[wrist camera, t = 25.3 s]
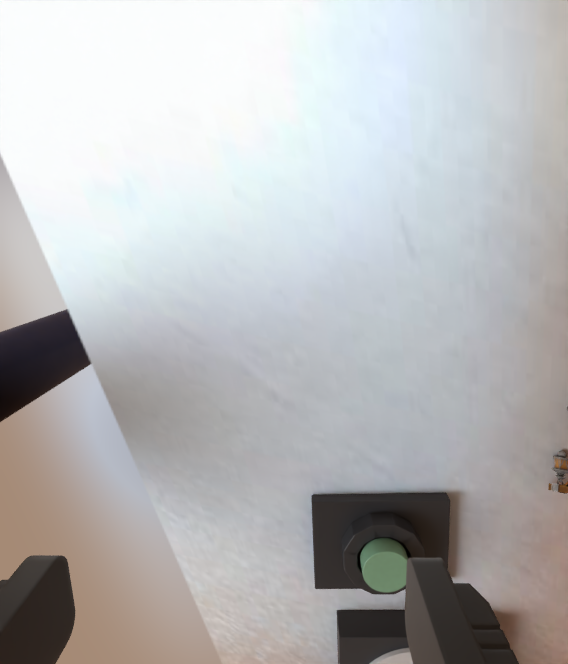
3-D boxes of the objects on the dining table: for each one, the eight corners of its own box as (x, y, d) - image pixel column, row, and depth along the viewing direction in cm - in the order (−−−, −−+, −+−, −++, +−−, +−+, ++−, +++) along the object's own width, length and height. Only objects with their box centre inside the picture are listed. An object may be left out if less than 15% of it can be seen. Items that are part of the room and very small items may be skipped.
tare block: (314, 579, 43) (315, 605, 40) (311, 494, 41) (312, 515, 38) (443, 578, 42) (453, 604, 39) (446, 492, 40) (457, 513, 37)
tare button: (360, 577, 40) (362, 593, 38) (359, 537, 39) (362, 551, 37) (406, 577, 39) (411, 592, 38) (407, 537, 39) (411, 551, 37)
